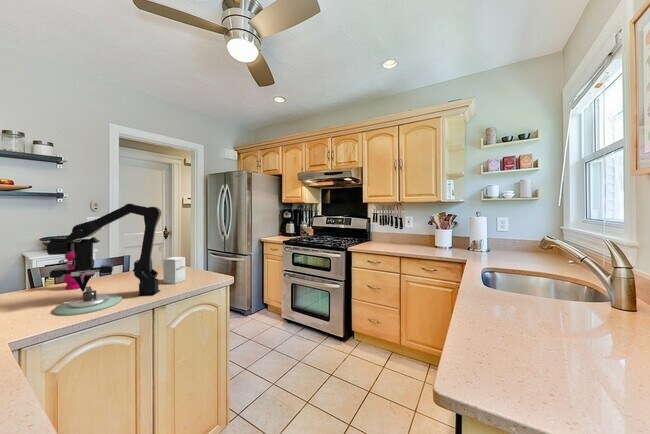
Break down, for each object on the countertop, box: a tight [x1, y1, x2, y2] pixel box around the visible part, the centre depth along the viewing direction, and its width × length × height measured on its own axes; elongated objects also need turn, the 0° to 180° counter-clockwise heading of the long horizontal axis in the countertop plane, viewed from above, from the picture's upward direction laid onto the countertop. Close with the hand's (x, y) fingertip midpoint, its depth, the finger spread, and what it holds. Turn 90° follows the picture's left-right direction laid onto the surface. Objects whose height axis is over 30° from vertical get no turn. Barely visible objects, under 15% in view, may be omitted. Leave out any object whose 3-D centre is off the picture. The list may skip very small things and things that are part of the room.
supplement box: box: [162, 256, 186, 285], centre depth 135 cm, size 7×7×13 cm
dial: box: [69, 285, 109, 308], centre depth 105 cm, size 16×12×4 cm
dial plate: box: [53, 293, 123, 317], centre depth 103 cm, size 20×20×1 cm
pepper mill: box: [63, 251, 85, 291], centre depth 124 cm, size 7×7×20 cm
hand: (83, 291), depth 107 cm, fingers closed
